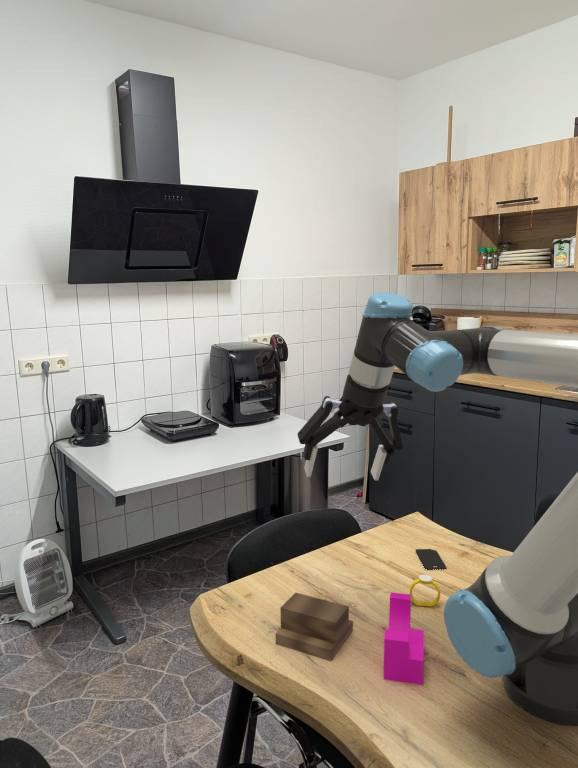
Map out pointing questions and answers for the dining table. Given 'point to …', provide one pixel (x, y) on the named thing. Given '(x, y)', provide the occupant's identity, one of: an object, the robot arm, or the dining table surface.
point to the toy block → (402, 643)
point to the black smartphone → (430, 559)
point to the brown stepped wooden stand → (314, 626)
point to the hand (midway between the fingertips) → (341, 474)
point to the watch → (425, 580)
